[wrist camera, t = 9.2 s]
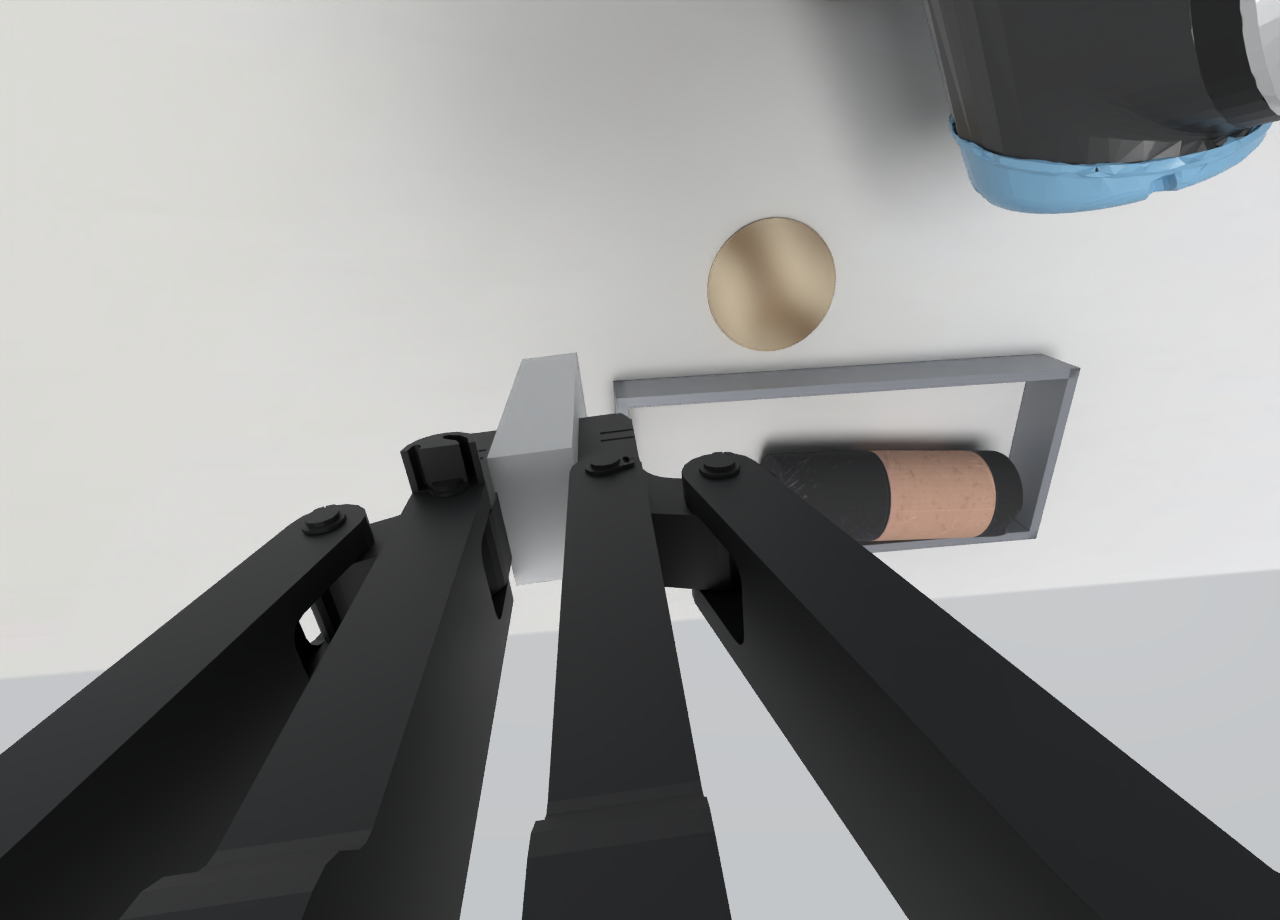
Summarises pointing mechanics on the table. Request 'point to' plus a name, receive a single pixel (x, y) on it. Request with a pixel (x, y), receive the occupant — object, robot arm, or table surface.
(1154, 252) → the table surface
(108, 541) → the table surface
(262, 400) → the table surface
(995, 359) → the tray
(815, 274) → the cork coaster
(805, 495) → the travel mug
